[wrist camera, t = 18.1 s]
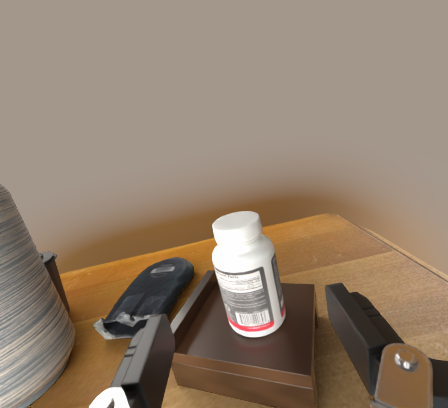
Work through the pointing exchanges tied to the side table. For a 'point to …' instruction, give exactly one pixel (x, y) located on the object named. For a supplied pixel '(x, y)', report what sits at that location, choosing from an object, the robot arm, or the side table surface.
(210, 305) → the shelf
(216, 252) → the pill bottle
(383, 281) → the side table surface
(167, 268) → the electronic device
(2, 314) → the vase
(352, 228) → the side table surface
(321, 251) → the side table surface
